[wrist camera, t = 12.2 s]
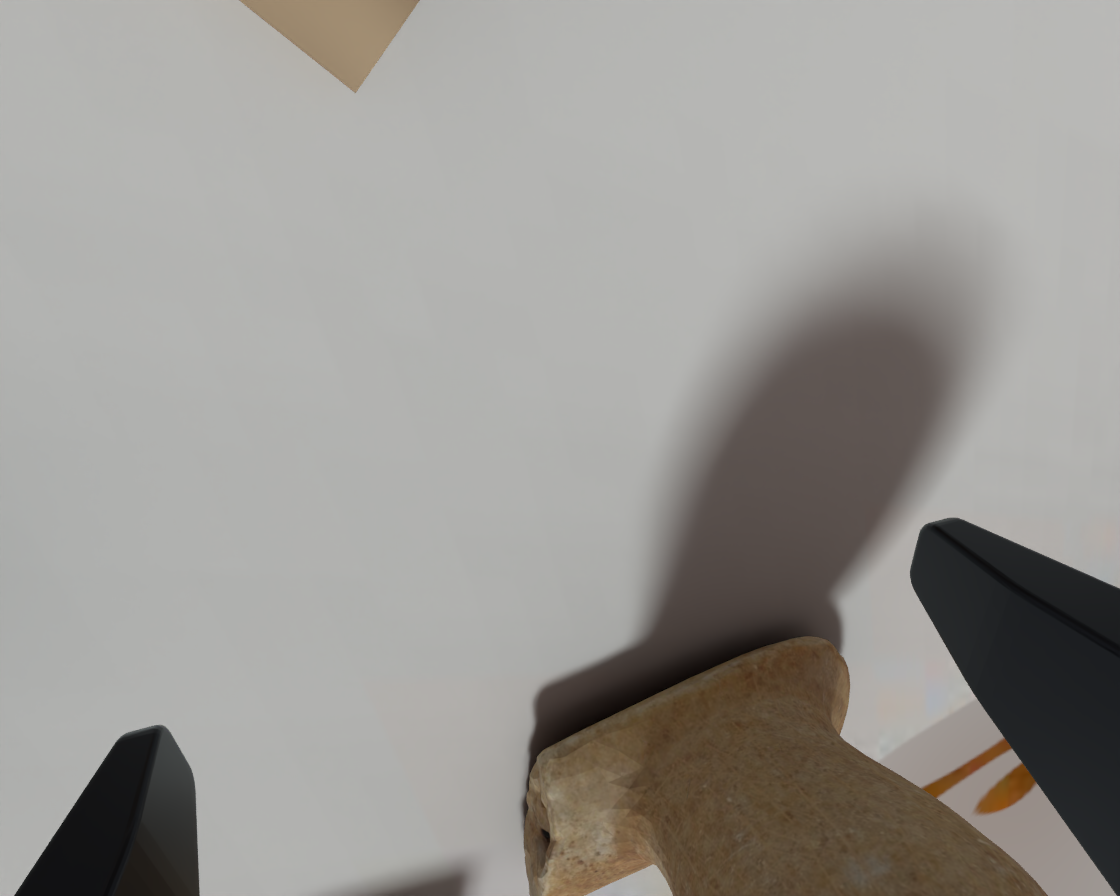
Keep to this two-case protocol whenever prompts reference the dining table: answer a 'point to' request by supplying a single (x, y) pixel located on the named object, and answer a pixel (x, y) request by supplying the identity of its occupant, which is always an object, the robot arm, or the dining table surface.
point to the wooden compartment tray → (338, 31)
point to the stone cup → (748, 796)
